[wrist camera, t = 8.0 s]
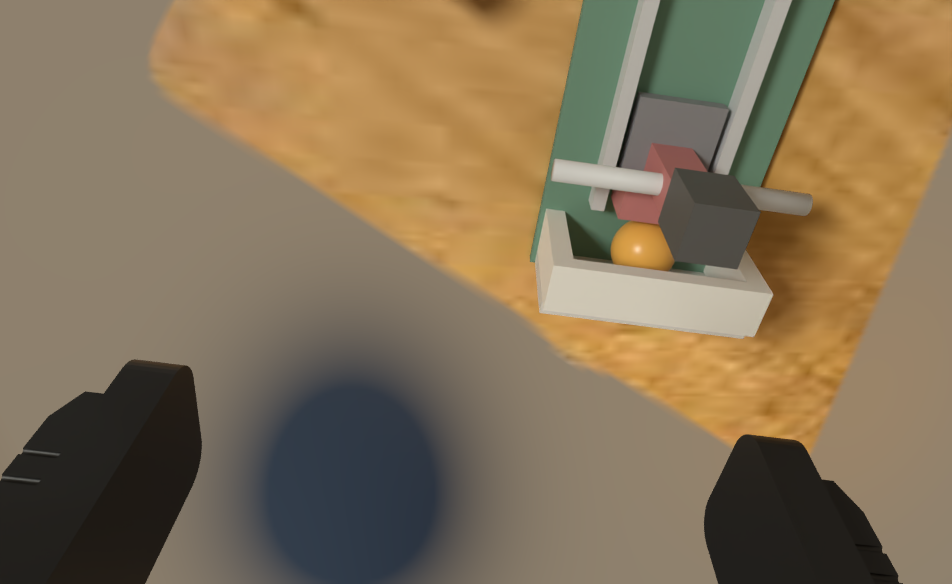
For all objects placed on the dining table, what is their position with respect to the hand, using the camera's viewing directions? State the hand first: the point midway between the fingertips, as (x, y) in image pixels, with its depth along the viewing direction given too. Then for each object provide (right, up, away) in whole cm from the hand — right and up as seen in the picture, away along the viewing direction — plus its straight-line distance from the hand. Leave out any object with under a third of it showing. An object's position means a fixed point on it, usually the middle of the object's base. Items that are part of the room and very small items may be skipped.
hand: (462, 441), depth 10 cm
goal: (+11, +6, +34) cm, 36 cm away
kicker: (+11, +11, +31) cm, 35 cm away
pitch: (+12, +13, +30) cm, 34 cm away
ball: (+11, +5, +32) cm, 34 cm away
